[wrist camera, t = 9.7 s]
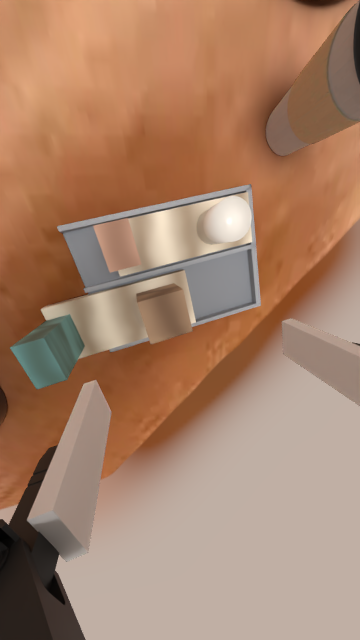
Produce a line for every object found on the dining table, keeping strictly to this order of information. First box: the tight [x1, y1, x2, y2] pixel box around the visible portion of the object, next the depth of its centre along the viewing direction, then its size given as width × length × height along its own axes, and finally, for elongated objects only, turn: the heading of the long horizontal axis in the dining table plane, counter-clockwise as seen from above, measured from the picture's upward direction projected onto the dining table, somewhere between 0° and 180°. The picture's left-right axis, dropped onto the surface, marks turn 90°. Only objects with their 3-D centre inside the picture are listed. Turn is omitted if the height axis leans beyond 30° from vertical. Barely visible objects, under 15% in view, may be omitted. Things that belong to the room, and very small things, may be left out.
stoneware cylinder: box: [197, 196, 252, 245], centre depth 23 cm, size 4×4×6 cm
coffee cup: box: [266, 0, 360, 156], centre depth 20 cm, size 9×9×15 cm
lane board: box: [57, 184, 261, 353], centre depth 29 cm, size 26×18×2 cm
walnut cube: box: [136, 283, 193, 344], centre depth 25 cm, size 6×6×6 cm
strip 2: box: [10, 269, 196, 389], centre depth 25 cm, size 20×8×10 cm, turn 103°
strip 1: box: [93, 192, 252, 277], centre depth 23 cm, size 20×6×10 cm, turn 103°
